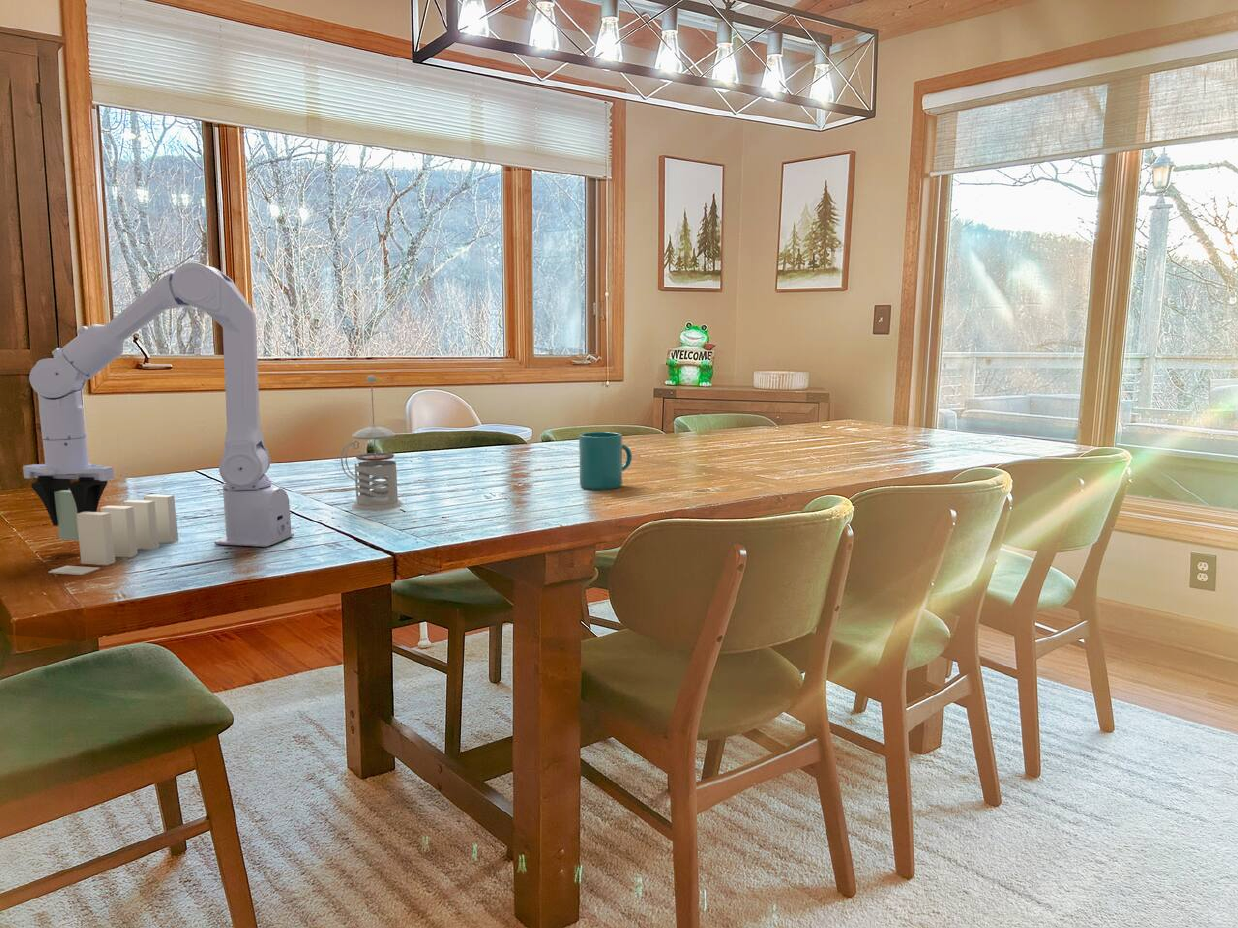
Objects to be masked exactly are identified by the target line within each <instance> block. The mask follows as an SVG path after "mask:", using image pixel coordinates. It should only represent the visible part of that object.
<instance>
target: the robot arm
mask: <svg viewBox="0 0 1238 928" xmlns="http://www.w3.org/2000/svg"><path fill="white" fill-rule="evenodd" d="M190 306H191V307H193V308H196V309H199V310H201V311H203V312H205V313H206V315H208V316H210V318H211V319H213V320H214V321H215V322H216V323H218V324H219V325H220V326H221V328H222V341H223V347H222V348H223V365H224V387H225V388H224V389H225V408H226V410H225V411H226V412H225V413H226V414H225V415H226V433H225V438H224V454H223V455H222V457H221V459H220V462H219V466H218V472H219V475H220V478H221V479H222V480H223V482H225V483H223V484H222V492H223V493H222V495H223V507H224V509H223V510H224V520H225V532H226V533H225V534H226V536H225V537H222V538H220V539H217V540H214V544H215V545H225V546H226V545H227V546H245V547H246V546H247V547H261V548H265V547H269V546H271V545H275V544H277V543H279V542H282V541H285V540H287V539H289V538H291V537H294V536H295V532H292V523H291V522H292V520H291V509H290V508H291V505H290V504H291V503H290V498H289V495H288V493H287V491H286V490H285V489H283V488H279V487H274V486H273V485H272V480H271V479H270V478H269V477H268V476H267V475H266V473H267V472H268V470H269V468H270V466H271V456H270V453H269V451H268V450H267V448H266V446H265V442H264V434H263V431H262V430H263V429H262V428H261V427H262V426H261V416H260V415H261V414H260V413H261V412H260V394H259V393H260V391H259V369H258V368H259V366H258V363H259V362H258V339H257V317H256V314H255V312H254V310H253V308H252V307H251V305H250V304H249V303H248V302H247V300H246V299H245V297H244V296H243V294H242V293H241V291H240V290H239V288H238V287H237V286H236V284H235V282H234V280H233V279H232V278H230V277H229V276H228V275H226V274H225V273H223V272H222V271H220V270H219V269H218V268H216V267H214V266H210V265H205V264H203V263H200V262H195V261H194V262H193V261H192V262H185V263H183V264H181V265H179V266H178V267H177V268H176V269H175V271H174V272H170V273H167V274H166V275H164V276H163V277H162V278H161V277H160V279H158V281H156V282H155V283H154V284H153V285H151V286H150V287H149V288H148V289H147V290H146V291H144V292H143V293H142V294H141V295H139V297H138V298H136V299H135V300H134V301H132V302H131V303H130V304H129V305H127V307H126V308H124V309H123V310H122V311H121V312H120V313H119V314H118V315H116V316H115V317H114V318H113V319H111V320H110V322H108V323H107V324H98V323H96V324H95V323H93V324H90V326H87V325H83V326H81V327H80V328H79V329H77V330H76V333H77V334H78V335H77V336H76V337H74V338H73V339H72V340H70V342H68V343H66V344H65V345H64V346H63V347H62V348H60V347H57V348H55V349H54V350H52V352H51V353H52V355H53V358H50V357H49V358H43V359H39V360H37V361H36V363H35V365H34V366H33V367H32V368H31V369H30V373H29V377H28V379H29V383H30V387H31V388H32V389H33V391H34V392H35V393H37V399H38V407H39V408H38V411H39V412H38V413H39V420H40V422H39V423H40V430H41V439H42V446H43V456H44V463H41V464H40V463H39V464H37V463H32V464H26V465H22V471H23V472H22V473H23V478H24V479H33V478H35V479H37V480H36V481H33V482H31V483H30V486H31V487H30V488H31V489H32V490H33V491H34V492H35V493H36V494H37V496H38V497H39V498H40V500H41V501H42V503H43V504H44V507H45V510H46V511H47V513H48V515H49V518H50V520H51V522H52V524H53V526H55V527H58V520H57V513H56V504H55V496H54V492H56V491H60V490H70V491H71V493H72V495H73V497H74V500H75V503H76V507H77V513H81V512H98V506H99V503H100V500H101V497H102V495H103V493H104V490H105V489H106V486H107V485H108V481H111V480H114V479H115V474H114V466H109V465H108V466H106V465H99V464H94V463H90V459H89V458H90V457H89V449H88V440H87V431H86V422H85V421H86V420H85V413H84V412H85V410H84V406H83V397H82V391H83V390H84V388H85V387H86V384H87V380H91V379H92V378H93V377H95V376H96V375H98V373H100V372H101V371H102V370H104V369H106V367H107V366H108V365H109V366H110V364H111V363H112V362H114V361H115V360H116V359H117V358H119V357H120V356H122V354H123V353H124V344H125V341H126V340H127V339H128V338H130V337H131V336H133V335H134V334H136V333H137V332H138V331H139V330H140V329H142V328H143V327H145V326H146V325H148V324H149V323H150V322H152V321H153V320H154V319H156V318H157V317H159V316H160V315H161V314H162V313H164V312H165V311H168V310H172V309H173V310H174V309H178V308H185V307H190ZM72 480H78V481H73V482H71V481H72Z"/></svg>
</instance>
